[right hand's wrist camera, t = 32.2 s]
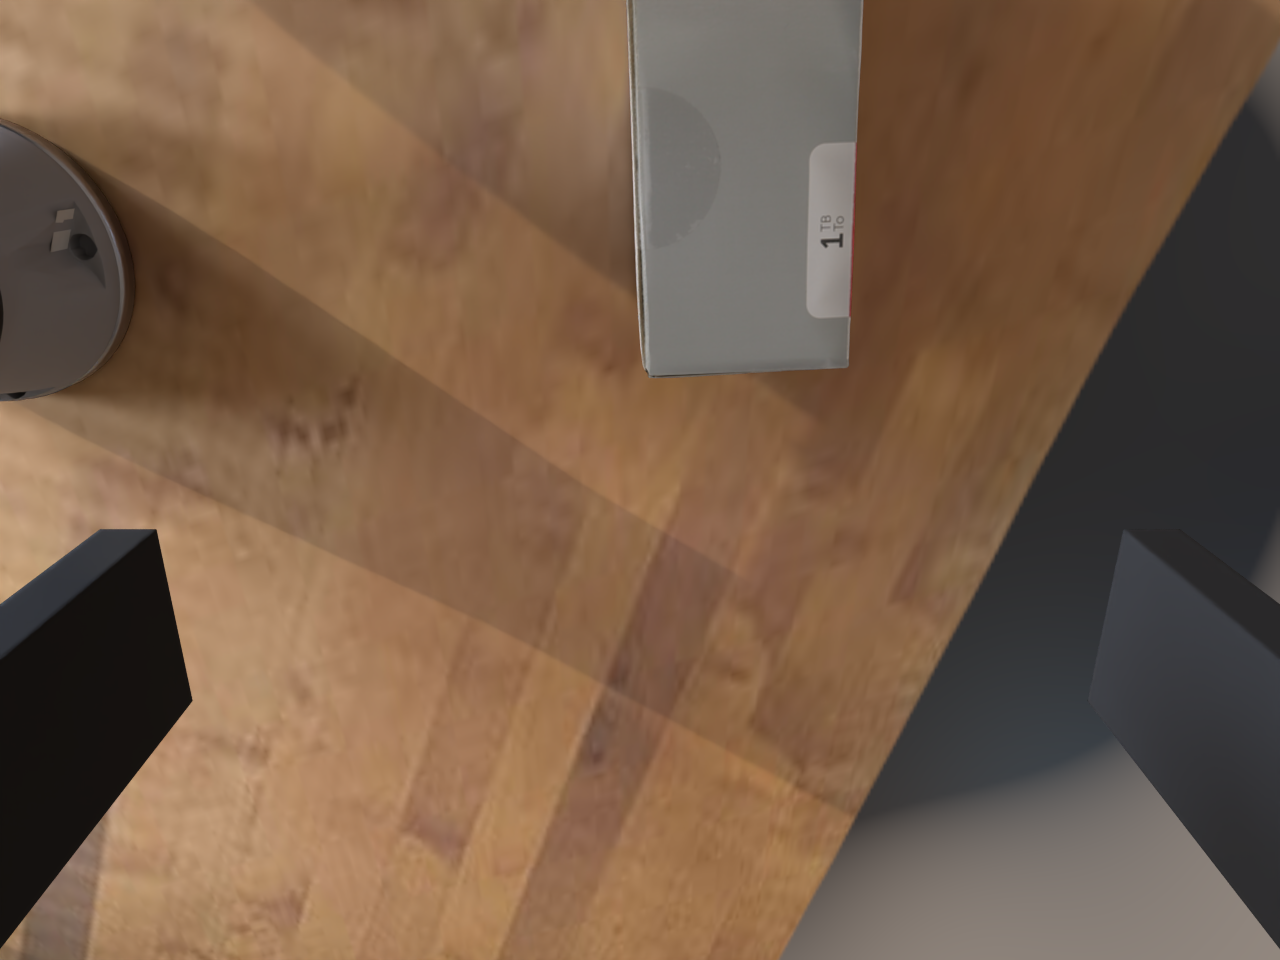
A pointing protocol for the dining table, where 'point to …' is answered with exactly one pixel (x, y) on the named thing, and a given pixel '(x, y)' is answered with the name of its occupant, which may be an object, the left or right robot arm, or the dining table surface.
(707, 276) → the hard drive box
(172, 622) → the right robot arm
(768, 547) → the dining table surface
